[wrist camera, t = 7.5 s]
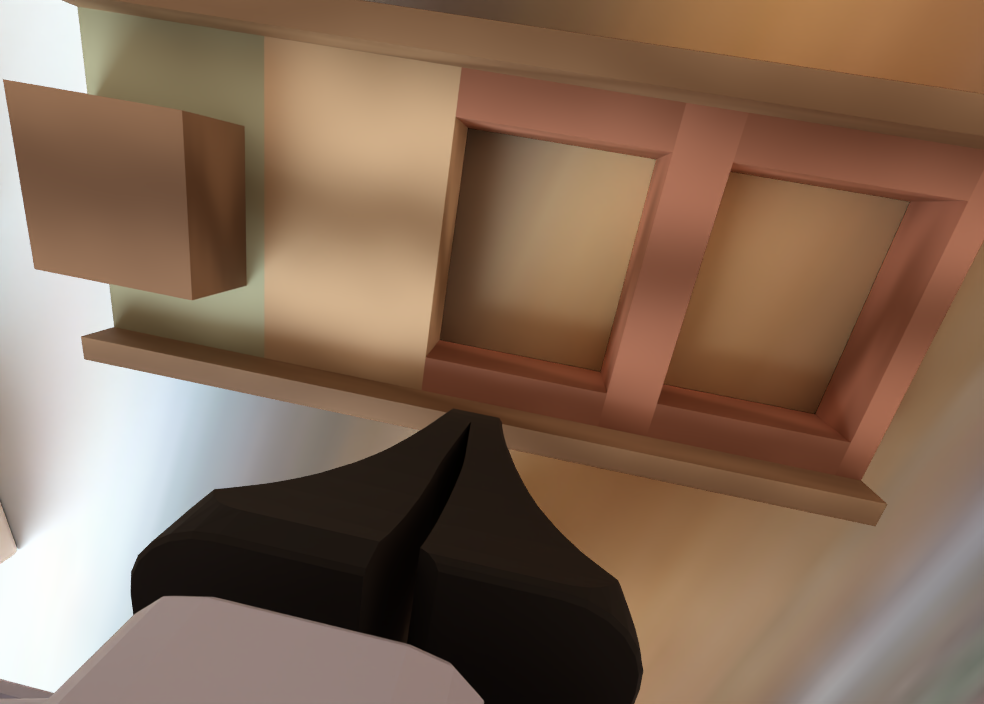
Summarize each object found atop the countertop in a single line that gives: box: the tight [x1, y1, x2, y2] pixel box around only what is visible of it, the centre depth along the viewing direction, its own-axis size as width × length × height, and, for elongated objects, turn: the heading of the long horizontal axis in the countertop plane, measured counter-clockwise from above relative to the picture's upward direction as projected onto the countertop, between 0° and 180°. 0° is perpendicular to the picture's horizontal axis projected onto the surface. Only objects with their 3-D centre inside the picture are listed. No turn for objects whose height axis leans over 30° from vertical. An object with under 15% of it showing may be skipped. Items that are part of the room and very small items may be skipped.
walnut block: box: [3, 79, 247, 300], centre depth 16 cm, size 6×6×3 cm
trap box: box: [63, 0, 984, 526], centre depth 17 cm, size 14×32×4 cm, turn 81°
